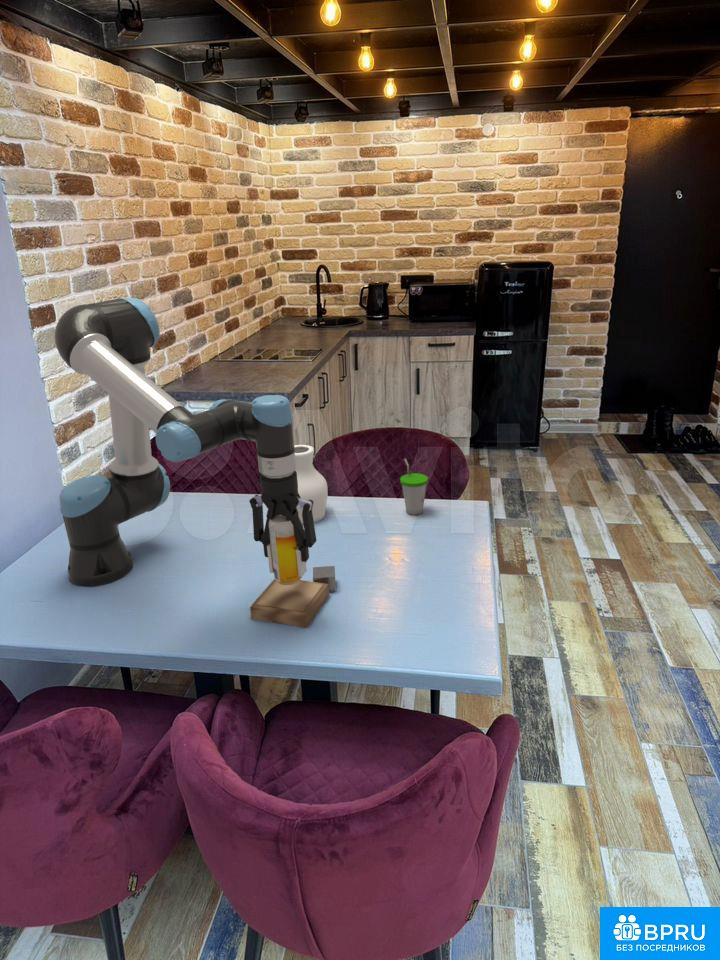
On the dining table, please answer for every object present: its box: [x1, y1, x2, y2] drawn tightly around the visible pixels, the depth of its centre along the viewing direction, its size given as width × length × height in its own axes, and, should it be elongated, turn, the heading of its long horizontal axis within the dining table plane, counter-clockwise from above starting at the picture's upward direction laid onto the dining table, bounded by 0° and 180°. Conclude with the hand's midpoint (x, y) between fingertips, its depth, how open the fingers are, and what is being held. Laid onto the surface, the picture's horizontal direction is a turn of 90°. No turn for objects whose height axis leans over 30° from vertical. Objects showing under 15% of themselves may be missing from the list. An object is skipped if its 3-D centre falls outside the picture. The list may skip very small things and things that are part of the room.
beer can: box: [269, 515, 303, 585], centre depth 145 cm, size 6×6×15 cm
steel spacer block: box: [312, 565, 337, 593], centre depth 158 cm, size 5×5×4 cm
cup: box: [399, 458, 429, 516], centre depth 191 cm, size 8×8×15 cm
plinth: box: [249, 578, 330, 629], centre depth 150 cm, size 13×13×3 cm
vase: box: [294, 444, 329, 525], centre depth 191 cm, size 14×14×20 cm
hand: (288, 571), depth 147 cm, fingers closed on beer can, 6 cm apart
